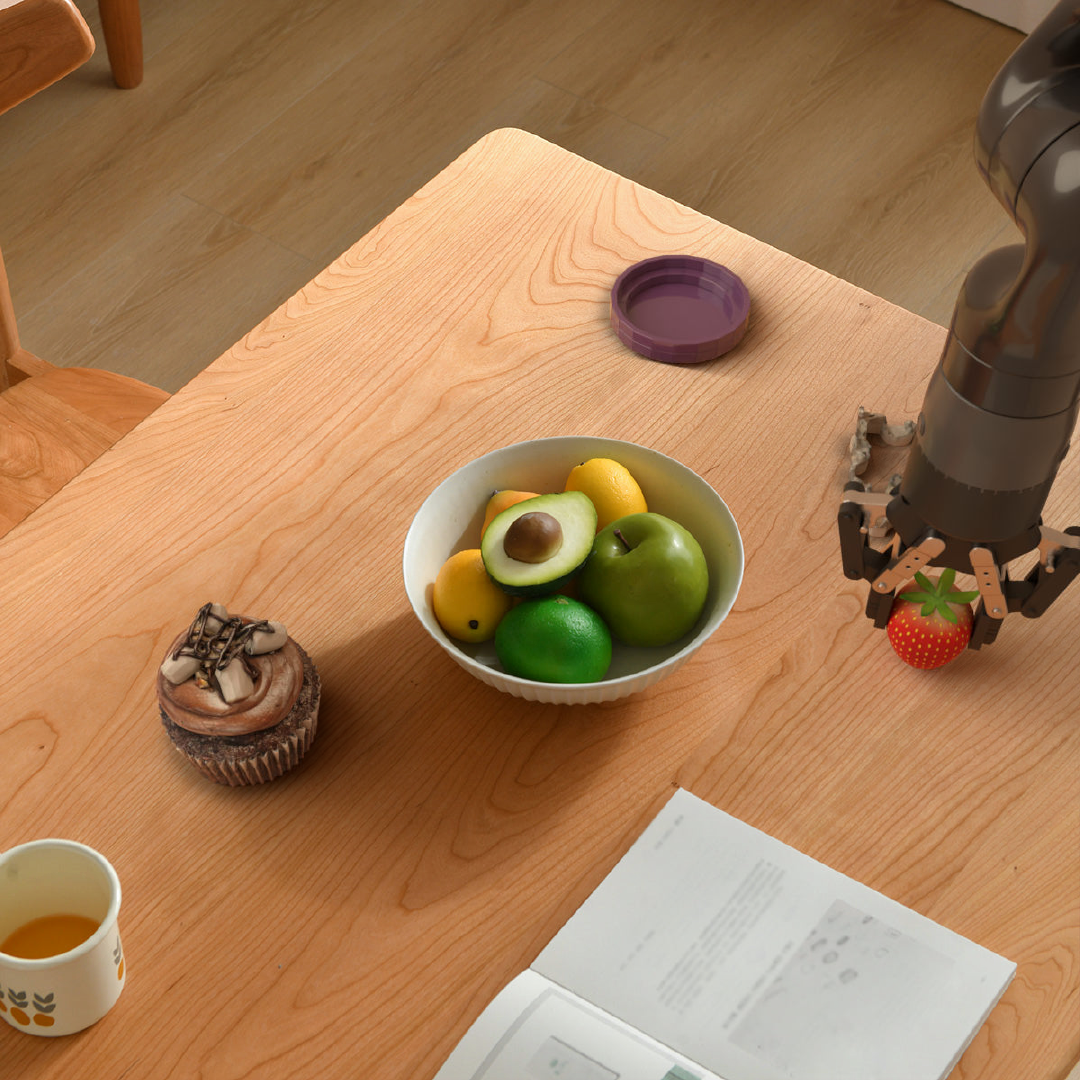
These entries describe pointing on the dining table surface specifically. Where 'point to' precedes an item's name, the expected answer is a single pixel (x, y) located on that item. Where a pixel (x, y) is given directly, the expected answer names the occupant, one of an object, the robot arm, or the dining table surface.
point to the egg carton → (862, 448)
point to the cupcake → (238, 697)
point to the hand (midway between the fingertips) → (927, 627)
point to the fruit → (931, 620)
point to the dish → (679, 308)
